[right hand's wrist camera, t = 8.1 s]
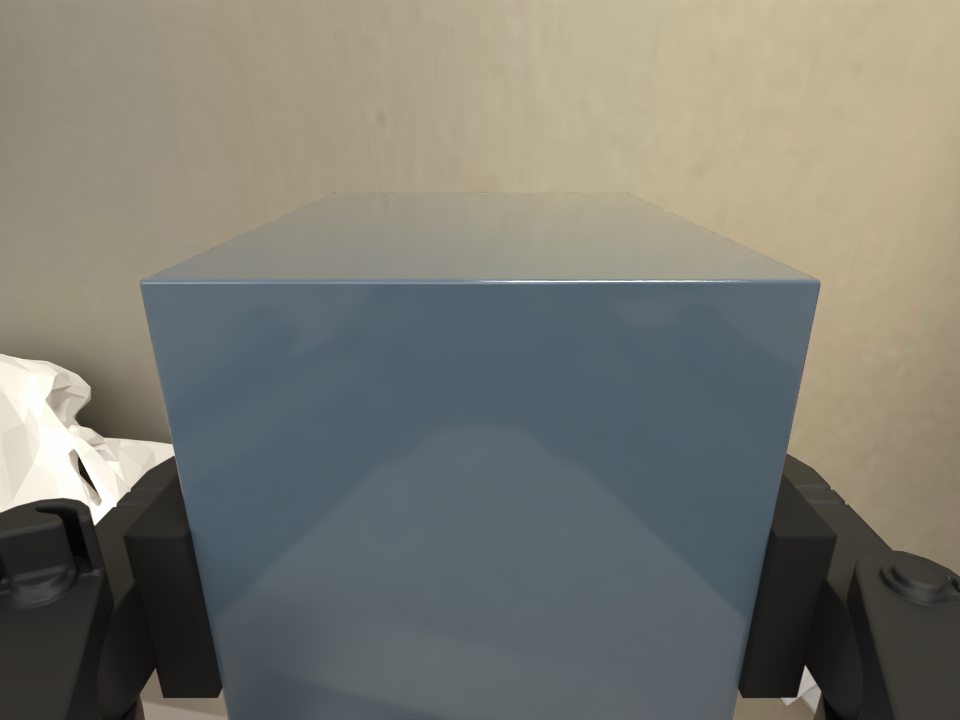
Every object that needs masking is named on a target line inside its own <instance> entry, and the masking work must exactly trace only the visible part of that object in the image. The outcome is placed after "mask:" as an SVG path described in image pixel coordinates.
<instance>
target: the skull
mask: <svg viewBox="0 0 960 720" xmlns="http://www.w3.org/2000/svg"><path fill="white" fill-rule="evenodd" d="M90 400H91V387H90V386H89V385H88V384H87V383H86V382H85V381H84V380H83V379H82V378H81V377H80V376H79V375H78V374H75V373H73V372H71V371H69V370H66V369H64V368H62V367H59V366H57V365H55V364H53V363H50V362H48V361H39V360H28V359H20V358H16V357H11V356H7V355H3V354H0V513H1V512H3V511H6V510H8V509H11V508H13V507H15V506H19V505H23V504H27V503H30V502H34V501H38V500H44V499H55V498H68V499H75V500H80V501H82V502H83V503H84V504H86V505H87V506H89V508H90V511H91V515H92V519H93V523H94V526H95V525H96V524H97V523H98V522H99V521H100V520H101V519H102V518H103V517H104V516H105V514H106V513H107V512H108V511H109V510H110V509H111V508H112V507H116V505H117V504H116V503H117V502H118V501H119V500H120V499H121V498H122V497H123V496H124V495H125V494H126V493H127V492H130V491H131V487H132V486H133V485H134V484H135V483H136V482H137V481H138V480H139V479H140V478H141V477H142V476H143V475H144V474H145V473H146V472H147V471H148V470H150V469H152V468H153V467H155V466H157V465H158V464H160V463H162V462H164V461H165V460H167V459H169V458H170V457H172V456H175V454H174V450H173V445H172V444H166V443H160V442H152V441H141V440H130V439H117V438H103V437H102V436H100V435H99V434H98V433H96V432H95V431H93V430H92V429H91V428H86V427H81V426H80V425H79V424H78V423H77V421H76V420H75V417H76V414H77V412H78V411H79V410H80V409H81V408H82V407H83V406H85V405H86V404H87V403H88V402H89V401H90ZM78 457H80V459H81V461H82V463H83V465H84V467H85V469H86V471H87V472H88V474H89V476H90V478H91V480H92V482H93V484H94V486H95V488H96V490H97V492H98V494H99V495H98V494H97V492H96V491H95V490H94V489H93V488H92V487H91V486H90V485H89V484H88V483H87V482H86V481H85V480H84V479H83V478H82V477H81V476H80V473H79V467H78Z"/></svg>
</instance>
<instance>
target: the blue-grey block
mask: <svg viewBox="0 0 960 720" xmlns="http://www.w3.org/2000/svg"><path fill="white" fill-rule="evenodd" d="M140 286H141V291H142V296H143V301H144V306H145V311H146V316H147V321H148V326H149V331H150V336H151V341H152V346H153V351H154V356H155V361H156V366H157V370H158V375H159V380H160V385H161V390H162V395H163V400H164V405H165V410H166V415H167V420H168V425H169V430H170V435H171V440H172V445H173V450H174V454H175V459H176V464H177V469H178V474H179V479H180V484H181V489H182V494H183V499H184V504H185V509H186V514H187V519H188V524H189V528H190V531H191V536H192V541H193V546H194V551H195V556H196V561H197V566H198V571H199V576H200V581H201V586H202V591H203V596H204V601H205V606H206V611H207V616H208V620H209V625H210V630H211V635H212V640H213V645H214V650H215V655H216V660H217V665H218V670H219V675H220V680H221V685H222V692H223V697H224V702H225V706H226V711H227V716H228V720H732V719H733V714H734V709H735V704H736V699H737V694H738V687H739V682H740V677H741V672H742V667H743V662H744V658H745V653H746V648H747V643H748V638H749V633H750V628H751V623H752V618H753V613H754V608H755V603H756V598H757V593H758V588H759V583H760V579H761V574H762V569H763V564H764V559H765V554H766V549H767V544H768V539H769V534H770V529H771V526H772V521H773V516H774V512H775V507H776V502H777V497H778V492H779V487H780V482H781V477H782V472H783V467H784V462H785V457H786V452H787V447H788V442H789V438H790V433H791V428H792V423H793V418H794V413H795V408H796V403H797V398H798V393H799V388H800V383H801V378H802V373H803V369H804V364H805V359H806V354H807V349H808V344H809V339H810V334H811V329H812V324H813V319H814V314H815V309H816V304H817V299H818V295H819V290H820V281H819V280H818V279H815V278H813V277H811V276H809V275H807V274H804V273H802V272H800V271H798V270H796V269H793V268H791V267H789V266H787V265H785V264H782V263H780V262H778V261H776V260H774V259H771V258H769V257H767V256H765V255H763V254H760V253H758V252H756V251H754V250H752V249H749V248H747V247H745V246H743V245H741V244H738V243H736V242H734V241H732V240H730V239H727V238H725V237H723V236H721V235H719V234H716V233H714V232H712V231H710V230H708V229H706V228H703V227H701V226H699V225H697V224H695V223H692V222H690V221H688V220H686V219H684V218H681V217H679V216H677V215H675V214H673V213H670V212H668V211H666V210H664V209H662V208H659V207H657V206H655V205H653V204H651V203H648V202H646V201H644V200H642V199H640V198H637V197H635V196H633V195H631V194H629V193H332V194H330V195H327V196H325V197H323V198H321V199H319V200H316V201H314V202H312V203H310V204H308V205H305V206H303V207H301V208H299V209H297V210H294V211H292V212H290V213H288V214H286V215H284V216H281V217H279V218H277V219H275V220H273V221H270V222H268V223H266V224H264V225H262V226H259V227H257V228H255V229H253V230H251V231H248V232H246V233H244V234H242V235H240V236H237V237H235V238H233V239H231V240H229V241H226V242H224V243H222V244H220V245H218V246H215V247H213V248H211V249H209V250H207V251H204V252H202V253H200V254H198V255H196V256H193V257H191V258H189V259H187V260H185V261H183V262H180V263H178V264H176V265H174V266H172V267H169V268H167V269H165V270H163V271H161V272H158V273H156V274H154V275H152V276H150V277H147V278H145V279H143V280H141V282H140Z"/></svg>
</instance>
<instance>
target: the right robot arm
mask: <svg viewBox="0 0 960 720" xmlns="http://www.w3.org/2000/svg"><path fill="white" fill-rule="evenodd" d="M116 504H117V505H116V507H112V508H111V509H110V510H109V511H108V512H107V513H106V514H105V516H104V517H103V518H102V519H101V520H100V521H99V522H98V523H97V524H96V525H95V526H94V523H93V519H92V515H91V511H90V508H89V506H87V505H86V504H84V503H83V502H82V501H80V500H75V499H68V498H55V499H44V500H38V501H34V502H30V503H27V504H23V505H19V506H15V507H13V508H11V509H8V510H6V511H3V512H1V513H0V720H145V718H144V711H143V705H142V702H141V698H140V693H141V691H142V689H143V688H144V686H145V684H146V683H147V681H148V679H149V678H150V676H151V674H152V673H153V671H154V669H155V668H156V670H157V674H158V678H159V682H160V686H161V690H162V694H163V698H218V696H219V694H220V692H221V689H222V685H221V680H220V675H219V670H218V665H217V660H216V655H215V650H214V645H213V640H212V635H211V630H210V625H209V620H208V616H207V611H206V606H205V601H204V596H203V591H202V586H201V581H200V576H199V571H198V566H197V561H196V556H195V551H194V546H193V541H192V536H191V531H190V528H189V524H188V519H187V514H186V509H185V504H184V499H183V494H182V489H181V484H180V479H179V474H178V469H177V464H176V459H175V456H172V457H170V458H169V459H167V460H165V461H164V462H162V463H160V464H158V465H157V466H155V467H153V468H152V469H150V470H148V471H147V472H146V473H145V474H144V475H143V476H142V477H141V478H140V479H139V480H138V481H137V482H136V483H135V484H134V485H133V486H132V487H131V491H130V492H127V493H126V494H125V495H124V496H123V497H122V498H121V499H120V500H119V501H118V502H117V503H116ZM805 665H806V667H807V669H808V670H809V672H810V674H811V675H812V677H813V679H814V680H815V682H816V684H817V685H818V687H819V689H820V690H821V694H820V698H819V702H818V705H817V709H816V713H815V717H814V720H960V577H959V576H958V575H957V574H955V573H954V572H952V571H951V570H950V569H948V568H946V567H944V566H941V565H939V564H937V563H935V562H933V561H931V560H929V559H927V558H924V557H920V556H917V555H913V554H910V553H907V552H903V551H893V550H892V549H891V548H890V547H889V546H888V545H887V544H886V543H885V542H884V541H883V540H882V539H881V538H880V537H879V536H878V535H877V534H876V533H875V532H874V531H873V530H872V529H871V528H870V527H869V526H868V525H867V523H866V522H865V521H864V520H863V519H862V518H861V517H860V516H859V515H858V514H857V513H856V512H855V511H854V510H853V509H852V508H851V507H850V506H849V505H845V501H844V500H843V499H842V498H841V497H840V496H839V495H838V494H837V493H836V492H835V491H834V490H831V489H830V485H829V484H828V483H827V482H826V481H825V480H824V479H823V478H822V477H821V476H820V475H819V474H818V473H817V472H816V471H815V470H814V469H813V468H811V467H809V466H808V465H806V464H804V463H803V462H801V461H799V460H797V459H796V458H794V457H792V456H790V455H789V454H786V457H785V462H784V467H783V472H782V477H781V482H780V487H779V492H778V497H777V502H776V507H775V512H774V516H773V521H772V526H771V529H770V534H769V539H768V544H767V549H766V554H765V559H764V564H763V569H762V574H761V579H760V583H759V588H758V593H757V598H756V603H755V608H754V613H753V618H752V623H751V628H750V633H749V638H748V643H747V648H746V653H745V658H744V662H743V667H742V672H741V677H740V682H739V687H738V689H739V691H740V693H741V695H742V697H743V698H797V696H798V692H799V688H800V684H801V680H802V676H803V672H804V668H805Z"/></svg>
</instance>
